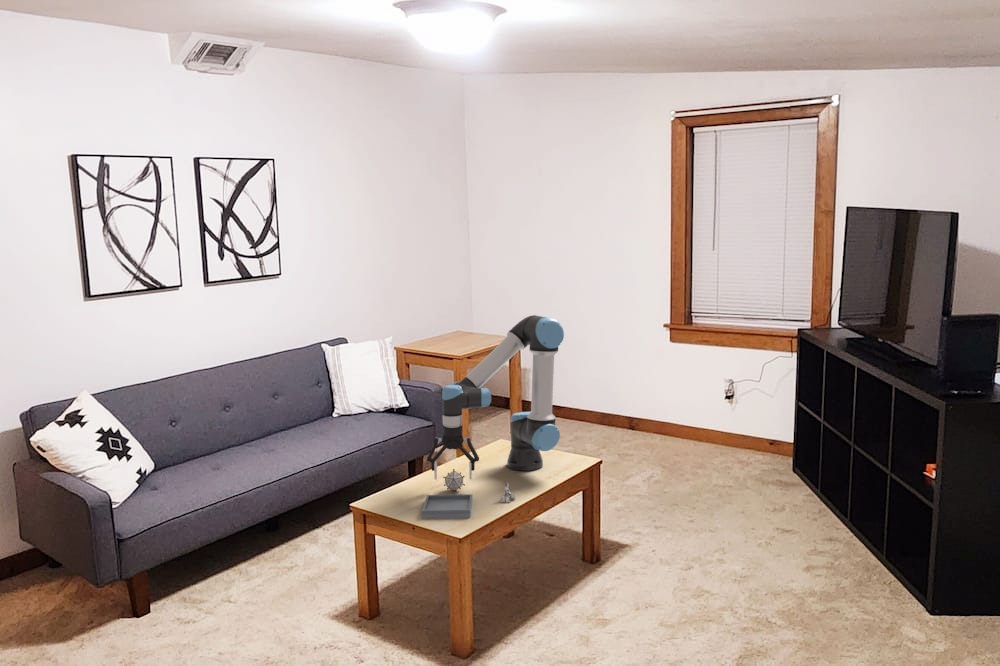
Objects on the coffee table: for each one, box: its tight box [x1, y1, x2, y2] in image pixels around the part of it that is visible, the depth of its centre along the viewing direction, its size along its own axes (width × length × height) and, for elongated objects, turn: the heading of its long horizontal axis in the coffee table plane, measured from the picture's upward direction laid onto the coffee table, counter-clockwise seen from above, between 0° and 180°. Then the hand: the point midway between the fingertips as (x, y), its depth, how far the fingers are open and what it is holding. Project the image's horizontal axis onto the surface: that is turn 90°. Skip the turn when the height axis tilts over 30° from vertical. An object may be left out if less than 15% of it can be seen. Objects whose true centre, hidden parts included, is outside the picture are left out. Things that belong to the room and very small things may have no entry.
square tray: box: [421, 493, 474, 519], centre depth 305 cm, size 17×17×3 cm
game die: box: [442, 468, 466, 492], centre depth 323 cm, size 9×8×10 cm
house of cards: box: [499, 481, 516, 504], centre depth 312 cm, size 9×9×8 cm
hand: (453, 478), depth 323 cm, fingers open, 13 cm apart
